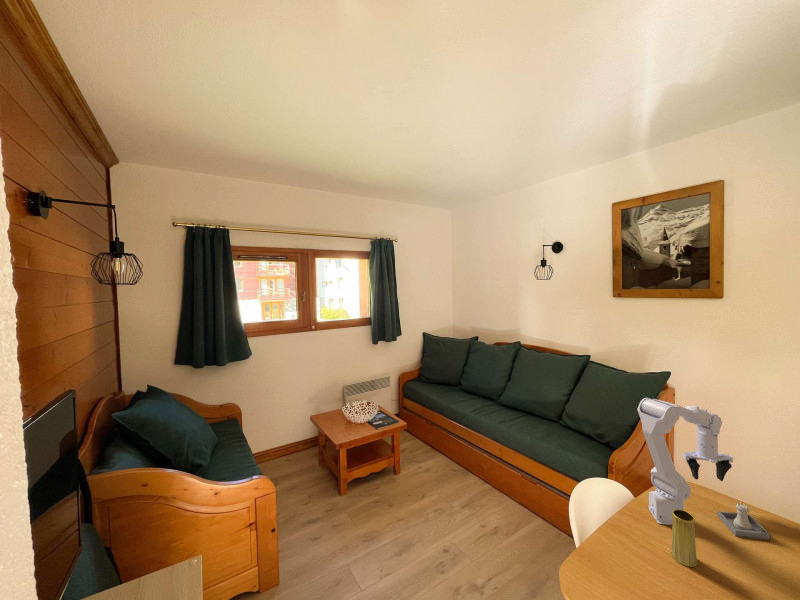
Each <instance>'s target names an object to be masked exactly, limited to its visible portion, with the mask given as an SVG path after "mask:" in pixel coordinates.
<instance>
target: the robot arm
mask: <svg viewBox="0 0 800 600" xmlns="http://www.w3.org/2000/svg"><path fill="white" fill-rule="evenodd" d="M637 412H638V415H639V418H640V421H641V426H642V427H641V428H642V434H643V436H644V440H645V441H646V445H647V447H648V450H649V453H650V456H651V459H652V461H653V464H654V467H653V468H651V470H650V476H651V477H650V480H651V481H650V482H651V484H652V485H653V486H655V487H654V488H655V490H652V491H651V490H650V491H649V492H648V507H647V508H648V510H649V512H650V513H651V515H652V516H653V519H655V521H656V522H657V523H658V524H661V525H670V526H673V513H672V511H673V510H675V509H680V510H684V511H685V501H687V500H688V499H689V498H690V496H691V492H692V491H691V486H690V484H689V483H687V481H686V479H685V478H684V476H682V475H681V474H680V473H679V472H678V471H677V470H676V467H675V465H674V462H673V459H672V455H671V452H670V449H669V447H668V443H667V441H666V438H665V435H666V434H669V433H670V432H671V430H672V429H673V427H675V424H676V423H677V422H678V421H679V420H680V417H682V418H683V419H682V420H684V421H686V422H687V423H690V424H693V425H696V450H694V451H689V452H682V458H683V459H684V460H685V461H686V463H687V465H688V466H689V469H690V472H691V475H692V478H694V480H699V469H700V467H701V465H700V463H698V461H707V462H710V463H713V464H714V463H715V468H716V469H715V470H716V471H715V473H716V474H715V475H716V478H717V479H718V480H719V481H720V482H723V481H724V479H725V476H726V474H727V472H728V471H730V470H731V469H732V468H733V467H732V464H731V463H733V462H734V457H733V456H732V455H731V454H725V453H719V439H718V438H719V434H720V433H721V427H722V425H723V421H722V417H720V416H719V415H718V414H716V413H713V412H709V411H708V409H705V408H701V409H700V406H696V405H693V404H692V406H691V405H689V406H688V405H687V406H683V407H682V406H680V405H678V404H675V403H673V402H668V401H665V400H660V399H656V398H649V397H644V398H643V399H641V400H640V402H639V403H638V407H637ZM664 434H665V435H664Z"/></svg>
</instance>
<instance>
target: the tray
mask: <svg viewBox="0 0 800 600" xmlns="http://www.w3.org/2000/svg"><path fill="white" fill-rule="evenodd" d="M748 514H749V513H748ZM717 517H718V518H719V520H720V521H721V522H722V523H723V524H724V526H726V528H728V530H729V531H730V532H731V533H732V534H733V535H734V536H735V537H738V538H739V537H741V538H742V537H743V538H749V539H755V540H757V539H758V540H765V541H771V534H770V532H769V531H767V529H766V528H764V527H763V525H761V523H759V522H758V520H756V519H755V518H754V517H753V516H752V515H751V514H749V515H748V520H749V522H750V524H751V526H752V531H748V530H739V529H737V528H736V527H735V526H734V524H733V522H734V519H735V518H736V517H737V512H731V511H721V510H717Z"/></svg>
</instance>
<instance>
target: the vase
mask: <svg viewBox="0 0 800 600" xmlns="http://www.w3.org/2000/svg"><path fill="white" fill-rule="evenodd" d="M672 513H673V525H671V526H672V527H671V528H672V529H671V530H672V531H671V553H670V555H671V557H672V558H673V560H675V561H676V562H677V563H679V564H681V565H683V566H685V567H689V568H690V567H691V568H694V567H696V566H697V565H698V561H697V544H696V527H695V523H696V521H695V520H696V519H695V517H694V516H693V514H692V513H690V512H689V511H686V510H685V509H684V510H680V509H675V510H673V511H672Z"/></svg>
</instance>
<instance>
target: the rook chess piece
mask: <svg viewBox="0 0 800 600" xmlns="http://www.w3.org/2000/svg"><path fill="white" fill-rule="evenodd" d="M735 508H737V509H736V513H737V517H736V518H735V519H734V522H733V524H734V526H735V527H736V528H737V529H739V530H748V531H752V526H751V524H750V522H749V520H748V515H749V512H750V511H751V510H750V509H749V506H748V505H746V504H744V503H742V502H737V503H736V505H735Z"/></svg>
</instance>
